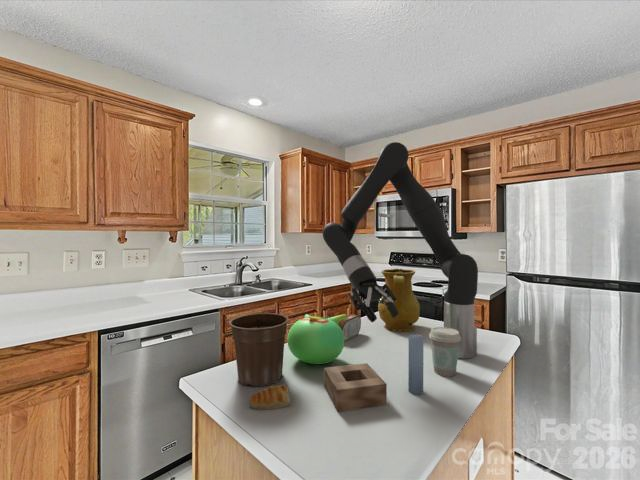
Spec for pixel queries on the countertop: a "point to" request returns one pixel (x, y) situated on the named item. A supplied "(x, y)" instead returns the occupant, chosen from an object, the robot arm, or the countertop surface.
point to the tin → (350, 326)
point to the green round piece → (316, 339)
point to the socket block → (354, 387)
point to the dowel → (415, 364)
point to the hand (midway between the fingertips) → (385, 318)
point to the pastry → (271, 398)
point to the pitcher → (400, 301)
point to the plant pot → (259, 347)
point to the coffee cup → (445, 350)
